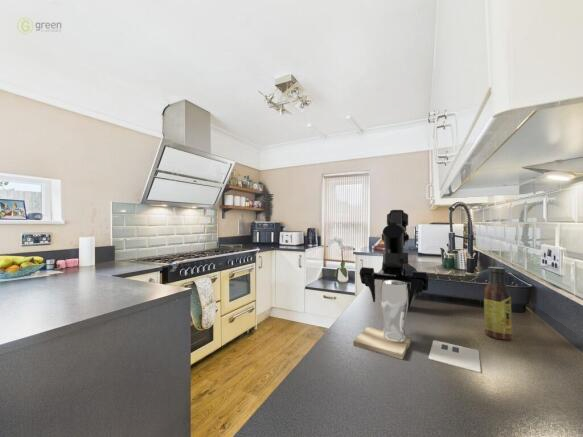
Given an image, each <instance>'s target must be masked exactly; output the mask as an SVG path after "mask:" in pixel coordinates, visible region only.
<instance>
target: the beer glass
mask: <svg viewBox="0 0 583 437" xmlns="http://www.w3.org/2000/svg"><path fill="white" fill-rule="evenodd" d="M380 305H381V311H382V316H383V328H382V330H383V333H382V337H383V338H384V339H386V340H388V341H390V342H395V343H403V342H405V341H406V336H407V335H406V328H405V327H406V320H407V319H406V317H407V315H408V314H407V313H408V308H409V293H408V287H407V283H406V282H403V281H398V280H381V287H380Z"/></svg>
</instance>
